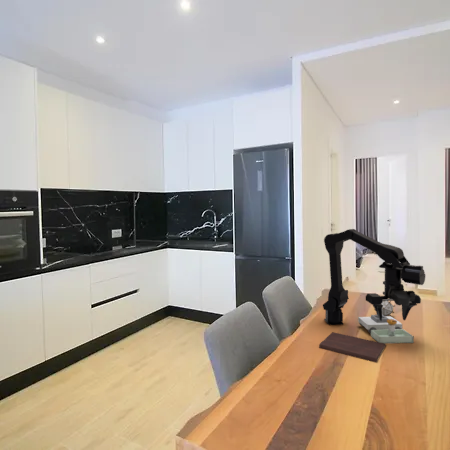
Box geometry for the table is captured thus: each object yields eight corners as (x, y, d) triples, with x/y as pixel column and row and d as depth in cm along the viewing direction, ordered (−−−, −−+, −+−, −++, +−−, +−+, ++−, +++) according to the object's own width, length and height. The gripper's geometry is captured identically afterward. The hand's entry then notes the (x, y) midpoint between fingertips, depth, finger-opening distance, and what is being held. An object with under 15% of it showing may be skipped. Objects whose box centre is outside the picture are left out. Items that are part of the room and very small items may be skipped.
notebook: (332, 335, 132) (332, 330, 132) (385, 347, 120) (385, 342, 120) (319, 349, 120) (319, 344, 120) (376, 364, 108) (376, 358, 108)
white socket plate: (368, 334, 131) (368, 321, 130) (358, 325, 140) (358, 313, 140) (402, 333, 131) (402, 320, 130) (390, 325, 140) (390, 312, 140)
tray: (379, 343, 122) (379, 337, 122) (370, 336, 129) (370, 329, 129) (413, 342, 123) (413, 336, 122) (403, 335, 130) (403, 329, 129)
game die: (389, 325, 150) (402, 311, 144) (371, 318, 150) (384, 305, 144) (385, 310, 157) (397, 297, 152) (368, 304, 157) (380, 290, 152)
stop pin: (389, 339, 124) (389, 322, 124) (385, 336, 128) (385, 319, 127) (398, 339, 124) (398, 322, 124) (393, 335, 128) (393, 318, 127)
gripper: (378, 286, 116) (378, 328, 117) (430, 285, 116) (429, 327, 117) (365, 279, 127) (364, 318, 128) (412, 277, 128) (411, 316, 129)
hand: (392, 320), depth 125 cm, fingers open, 9 cm apart
